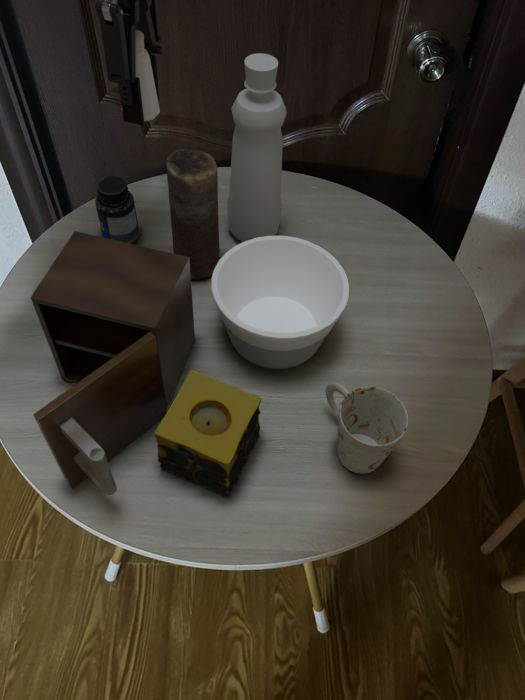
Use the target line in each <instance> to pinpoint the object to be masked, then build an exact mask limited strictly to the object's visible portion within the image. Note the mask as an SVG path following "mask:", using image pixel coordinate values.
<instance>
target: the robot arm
mask: <svg viewBox="0 0 525 700" xmlns="http://www.w3.org/2000/svg"><path fill="white" fill-rule="evenodd" d="M95 11H96V14H97V17H98V20H99V23H100V30H101V31H100V33H101V39H102V45H103V53H104V59H105V67H106V74H107V80H108V82H110V83H114V84H118V90H119V97H120V103H121V113H122V117H123V122H125V123H129V124H135V125H139V126H143V125H144V123H145V122H144V115H143V106H142V97H141V88H140V79H139V78H138V77H136V43H135V30H138V31H141V32H142V33H143V34H144V49H146V50H147V52H148V54H149V57H150V62H151V67H152V72H153V77H154V82H155V88H156V93H157V98H158V102H159V101H160V91H159V80H158V79H159V78H158V67H157V56H156V55H162V53H163V46H161V45H158V44H157V43H161V41H162V39H163V38H162V28H161V27H162V26H161V16H160V3H159V0H104V1H102V0H96V3H95Z"/></svg>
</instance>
